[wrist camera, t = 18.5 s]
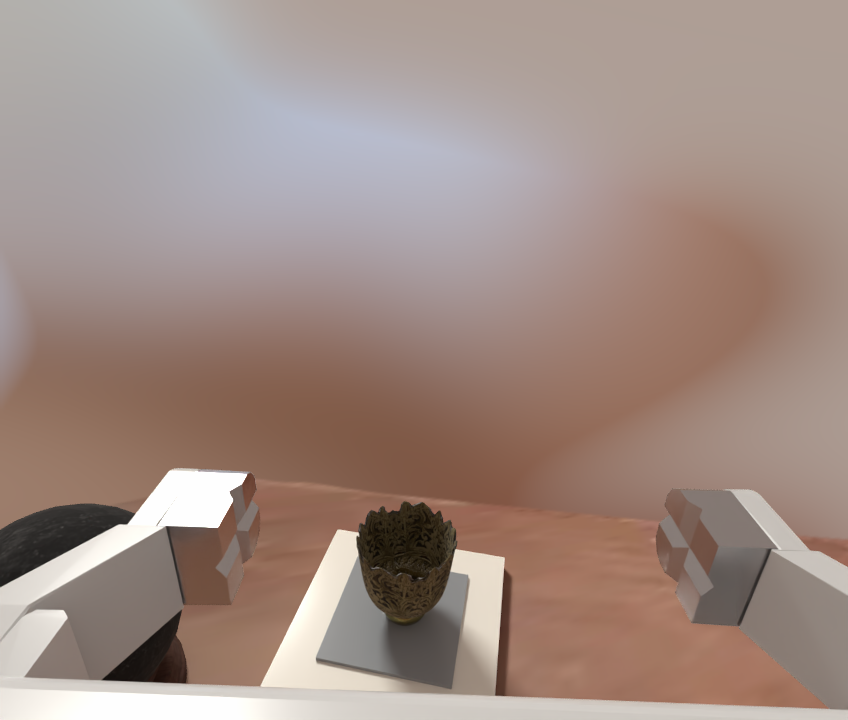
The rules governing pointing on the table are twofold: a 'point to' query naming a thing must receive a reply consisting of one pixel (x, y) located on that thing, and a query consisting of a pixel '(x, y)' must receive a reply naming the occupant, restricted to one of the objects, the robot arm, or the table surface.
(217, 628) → the table surface
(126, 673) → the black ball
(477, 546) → the table surface
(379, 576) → the cup
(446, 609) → the tile plinth
